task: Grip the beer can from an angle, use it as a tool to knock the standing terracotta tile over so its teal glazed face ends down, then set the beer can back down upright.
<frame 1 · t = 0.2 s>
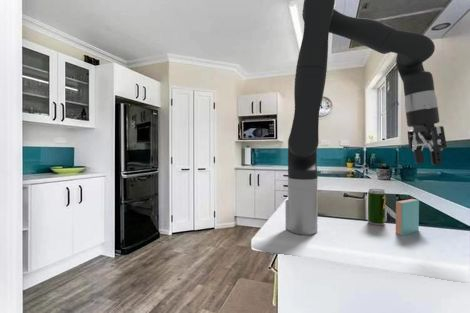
hand: (428, 164, 72), 22 cm above the counter, tool pointing down, fingers open, 8 cm apart
tile: (406, 231, 78), on the counter
beer can: (376, 223, 87), on the counter
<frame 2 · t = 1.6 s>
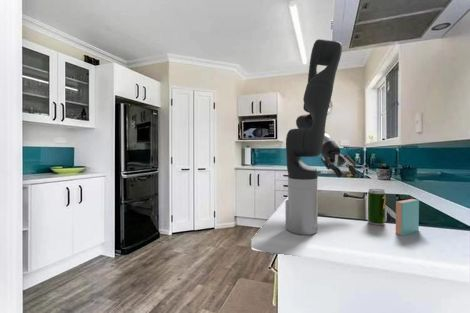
hand: (349, 175, 96), 16 cm above the counter, tool tilted 45°, fingers open, 8 cm apart
nothing on the counter moved.
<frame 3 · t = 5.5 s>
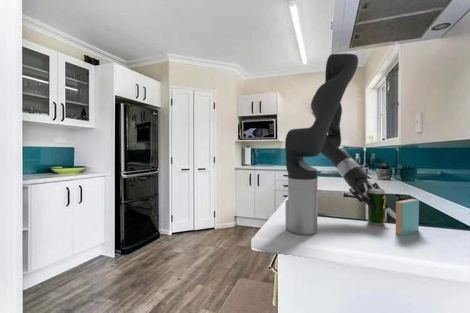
hand: (381, 209, 85), 5 cm above the counter, tool tilted 45°, fingers closed on beer can, 5 cm apart
beer can: (376, 223, 87), on the counter, touching gripper
everything else where it was.
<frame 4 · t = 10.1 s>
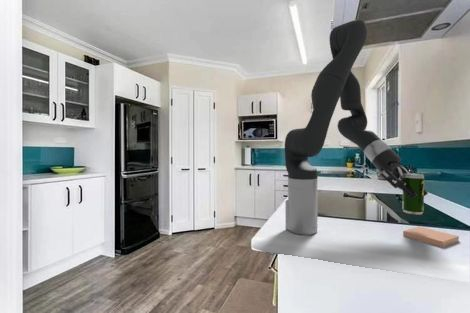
hand: (419, 196, 75), 12 cm above the counter, tool tilted 45°, fingers closed on beer can, 5 cm apart
tile: (411, 231, 77), point 1 cm above the counter, tilted 90°
beer can: (412, 213, 76), point 6 cm above the counter, touching gripper
when the fingers open (7 cm above the counter, at t = 15.4 s): beer can drops 1 cm, on the counter.
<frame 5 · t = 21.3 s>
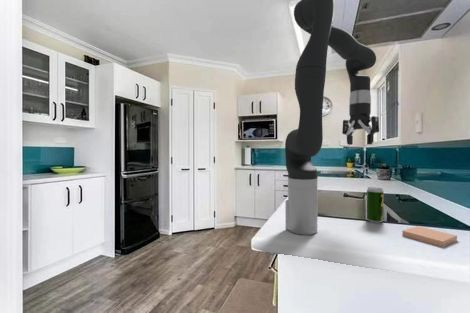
hand: (359, 144, 97), 28 cm above the counter, tool pointing down, fingers open, 8 cm apart
beer can: (374, 221, 90), on the counter
at the end: tile tilted 90°; beer can tilted 0°; beer can inside the target area (0.2 cm from its centre), on the counter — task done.
